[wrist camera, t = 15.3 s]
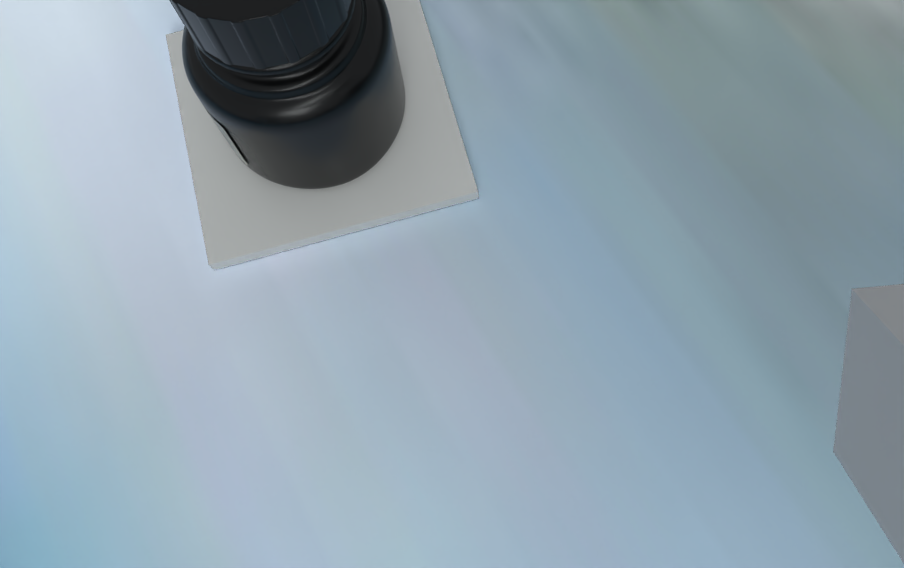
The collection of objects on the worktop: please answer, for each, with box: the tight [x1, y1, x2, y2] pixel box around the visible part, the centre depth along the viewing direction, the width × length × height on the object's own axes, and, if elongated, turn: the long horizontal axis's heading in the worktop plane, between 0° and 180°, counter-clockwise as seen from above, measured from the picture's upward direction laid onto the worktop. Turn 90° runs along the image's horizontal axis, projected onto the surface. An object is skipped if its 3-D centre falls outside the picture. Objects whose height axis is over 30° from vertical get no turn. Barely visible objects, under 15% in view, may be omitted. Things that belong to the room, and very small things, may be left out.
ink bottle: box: [169, 0, 405, 189], centre depth 35 cm, size 10×9×12 cm
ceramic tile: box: [166, 0, 479, 270], centre depth 41 cm, size 13×13×1 cm
